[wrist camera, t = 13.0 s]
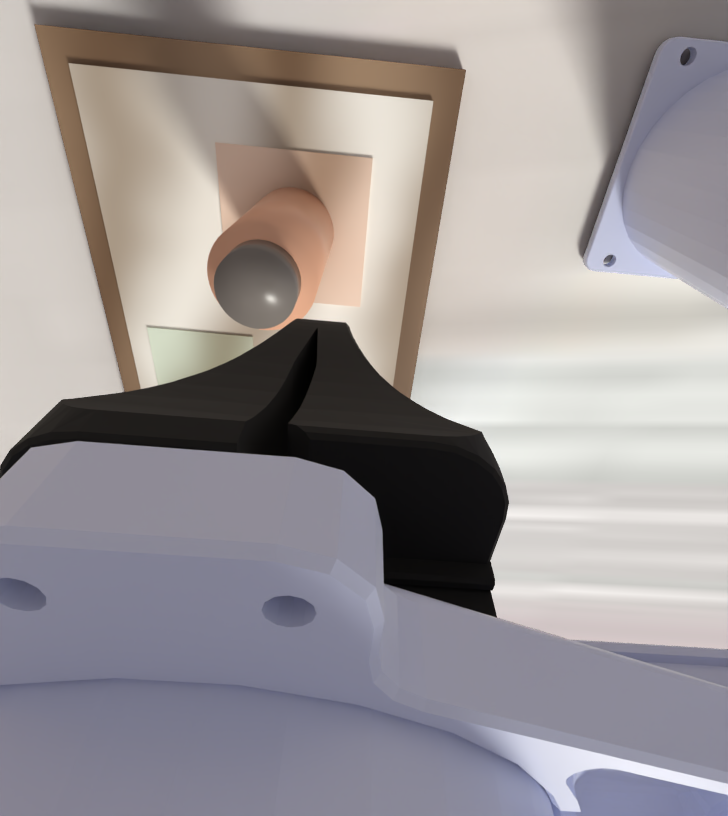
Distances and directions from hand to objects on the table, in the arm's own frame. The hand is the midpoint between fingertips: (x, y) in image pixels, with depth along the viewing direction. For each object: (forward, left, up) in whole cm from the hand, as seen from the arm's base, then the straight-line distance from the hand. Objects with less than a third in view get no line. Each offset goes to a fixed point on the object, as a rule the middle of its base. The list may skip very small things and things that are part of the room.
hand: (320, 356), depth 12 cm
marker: (+2, -1, -10) cm, 10 cm away
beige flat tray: (+4, +4, -10) cm, 12 cm away
